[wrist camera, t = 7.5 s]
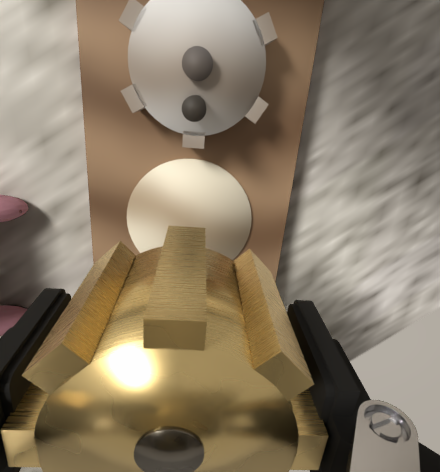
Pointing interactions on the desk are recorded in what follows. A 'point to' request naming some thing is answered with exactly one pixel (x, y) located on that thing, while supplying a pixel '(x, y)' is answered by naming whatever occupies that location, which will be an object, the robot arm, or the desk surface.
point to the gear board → (194, 118)
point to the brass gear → (169, 371)
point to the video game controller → (4, 210)
